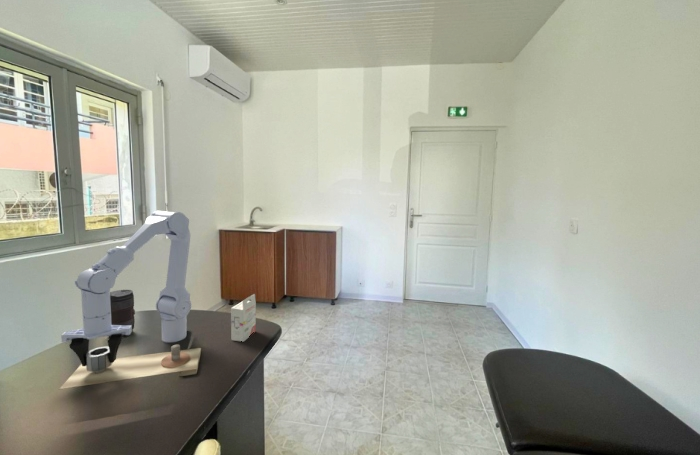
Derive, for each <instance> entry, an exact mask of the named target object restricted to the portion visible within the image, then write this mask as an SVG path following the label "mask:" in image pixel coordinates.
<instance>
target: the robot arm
mask: <svg viewBox="0 0 700 455" xmlns="http://www.w3.org/2000/svg"><path fill="white" fill-rule="evenodd" d="M189 224H190V219H189V218H188V217H187V215H186V214H184V213H183V212H180V211H165V210H159V209H158V210H156V211H153V212H152V213H151V215H149V216H147V217H146V219H145V222H144V223H143V224H142V226H140V227H139V228H138V229H137V231H136V232H135V233H134V234H133V235H132V236H131V237H130V238H129V239H128V240H127V241H126V242H125V243H124V244H123V245H122V246H114V247H113V248H109V249H108V250H107V251H106V254H105V255H104V256H103V257H102V258H101V259H99V260H98V261H97V262H96V263H93V264H92V265H91V268H88V269H85V270H83V271H81V272H80V274H79V275H78V276H77V279H76V280H75V281H74V284H75V287H77V289H79V290H80V292H81V308H82V326H83V328H80V329H79V328H78V329H75V330H69V331H64V332H63V333H62V334H61V342H62V343H65V342H66V343H67V342H68V341H70V343H69V348H70V349H71V350H72V351H73V352H74V353H75V354H76V356H77V357H78V359H79V361H80V364H82V366H86V357H85V354H86V353H87V352H88V351H90V349H89V345H90V340H95V339H97V338H103V337H108V339H107V345H108V347H109V350H110V363H112V362H114V361H115V360H116V358H117V355H118V350H119V347H120V345H121V342H122V340H123V336H124V334H125V335H130V334H131V332H132V325H128V326H122V325H112V324H111V303H110V292H111V289H112V288H113V287H114V286H115V283H116V279H117V278H118V276H119V275H120V273H122V272H123V271H124V270H125V269H126V268H127V267H128V266H129V264H131V263H132V262H133V261H134V259H135V255H134V254H135V253H137V251H138V250H140V249H141V248H142V247H143V246H145V245H146V244H147V243H148V242H149V241H150V240H151V239H153V238H154V237H155V236H157V235H163V234H164V235H165V236H166V237H167V238H168V239H170V248H169V257H168V265H167V274H166V282H165V287H164V288H163V289H162V290H161V291H160V292H159V296H158V299H157V300H156V302H155V309H156V311H157V312H158V313H160V315H159V316H160V318H161V321H160V322H161V341H162V342H164V343H177V342H179V341H182V340H184V339H186V337H187V333H188V332H187V330H188V327H187V326H188V324H187V323H188V322H187V318H188V316H189V315H188V314H189V313H190V311H191V309H192V302H191V294H190V292H189V291H188V290H187V288H186V286H185V285H186V279H187V269H188V262H189V260H188V259H189V253H190V243H191V233H190V229H189ZM131 335H132V334H131ZM131 335H130V336H131ZM109 336H111V337H110V338H109Z"/></svg>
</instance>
